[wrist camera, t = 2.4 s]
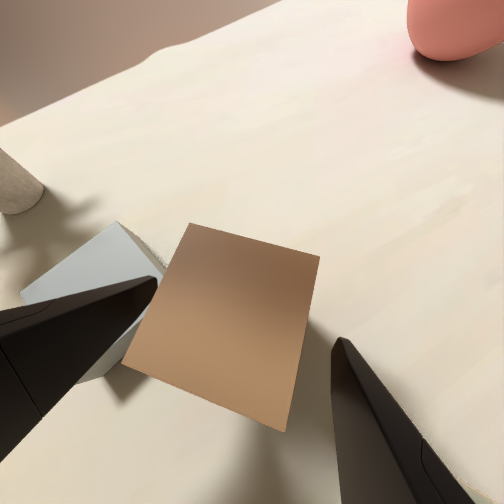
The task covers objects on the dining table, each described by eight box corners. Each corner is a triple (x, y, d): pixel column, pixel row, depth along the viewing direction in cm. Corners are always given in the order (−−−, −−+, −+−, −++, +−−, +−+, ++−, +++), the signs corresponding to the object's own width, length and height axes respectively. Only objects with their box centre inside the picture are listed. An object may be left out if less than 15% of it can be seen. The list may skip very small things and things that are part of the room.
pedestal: (102, 376, 15) (66, 387, 13) (57, 297, 18) (19, 292, 15) (188, 295, 17) (174, 289, 15) (136, 235, 20) (115, 220, 17)
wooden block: (270, 360, 15) (284, 433, 5) (213, 339, 16) (120, 363, 6) (285, 299, 17) (320, 256, 6) (232, 283, 18) (189, 222, 7)
